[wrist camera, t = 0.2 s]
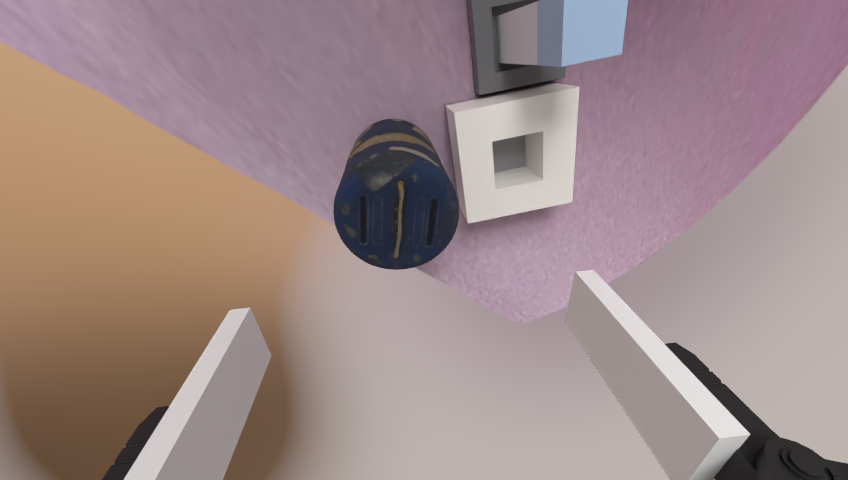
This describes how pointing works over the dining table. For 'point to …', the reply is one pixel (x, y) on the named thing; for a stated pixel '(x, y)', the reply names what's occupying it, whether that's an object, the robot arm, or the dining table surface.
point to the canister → (395, 198)
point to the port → (514, 150)
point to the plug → (561, 32)
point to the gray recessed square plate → (488, 73)
